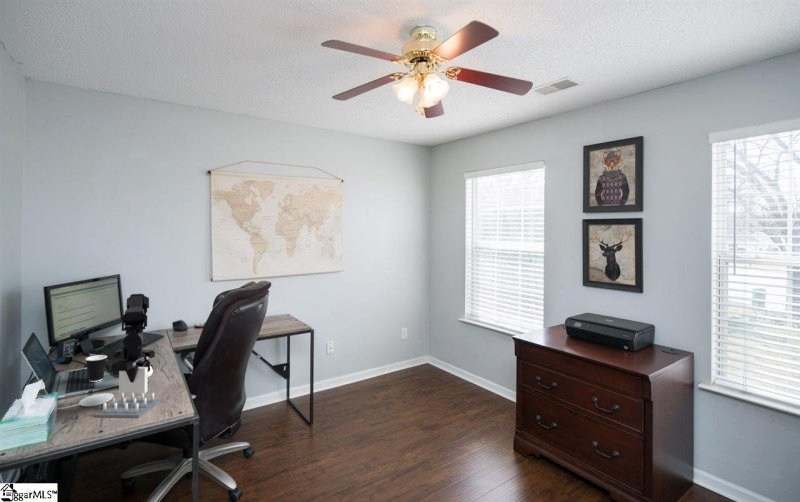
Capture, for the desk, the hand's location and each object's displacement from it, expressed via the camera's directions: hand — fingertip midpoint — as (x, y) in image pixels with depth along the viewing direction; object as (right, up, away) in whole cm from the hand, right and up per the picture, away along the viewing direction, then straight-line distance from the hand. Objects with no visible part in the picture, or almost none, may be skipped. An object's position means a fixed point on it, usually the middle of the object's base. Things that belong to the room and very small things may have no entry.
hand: (133, 381), depth 158 cm
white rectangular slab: (0, -5, 0) cm, 5 cm away
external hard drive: (-33, -9, +44) cm, 55 cm away
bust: (-18, -9, +34) cm, 40 cm away
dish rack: (0, -10, -2) cm, 11 cm away
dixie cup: (-35, -9, +26) cm, 44 cm away
